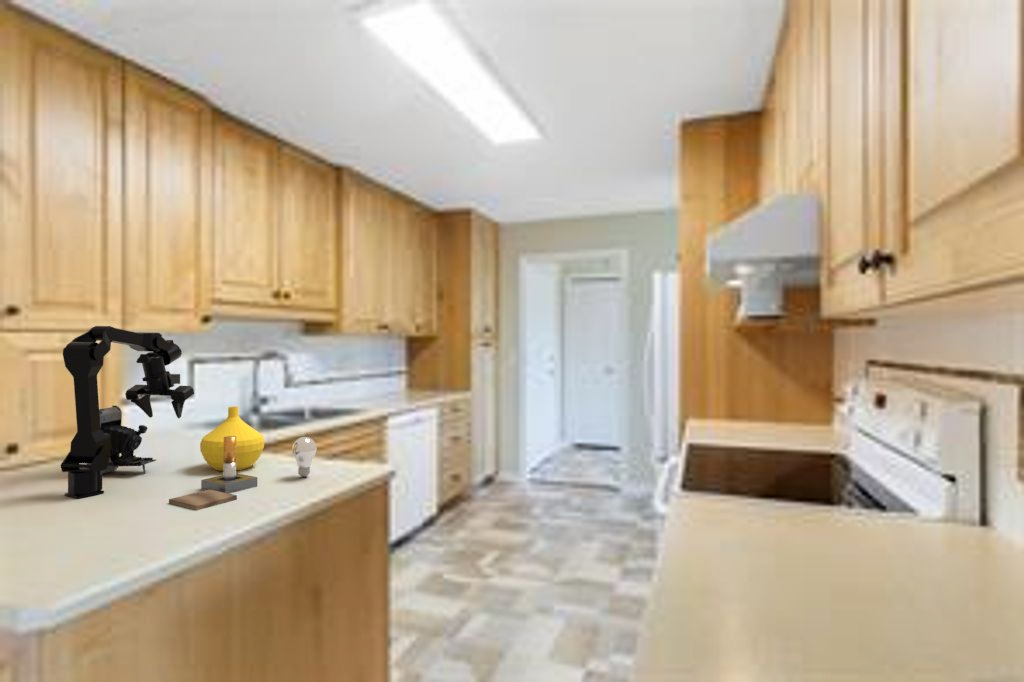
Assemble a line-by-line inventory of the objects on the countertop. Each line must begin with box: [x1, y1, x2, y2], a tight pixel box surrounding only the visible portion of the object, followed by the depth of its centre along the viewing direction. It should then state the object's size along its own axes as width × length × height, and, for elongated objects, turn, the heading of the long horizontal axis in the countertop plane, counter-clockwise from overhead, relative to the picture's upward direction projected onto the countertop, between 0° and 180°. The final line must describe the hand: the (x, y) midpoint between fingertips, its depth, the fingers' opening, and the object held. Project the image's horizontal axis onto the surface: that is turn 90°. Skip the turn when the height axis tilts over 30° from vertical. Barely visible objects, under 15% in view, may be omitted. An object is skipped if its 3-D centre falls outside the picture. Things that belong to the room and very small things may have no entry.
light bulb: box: [291, 436, 318, 478], centre depth 179 cm, size 7×7×12 cm
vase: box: [199, 406, 265, 472], centre depth 189 cm, size 18×18×19 cm
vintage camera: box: [99, 405, 157, 475], centre depth 179 cm, size 10×15×20 cm, turn 89°
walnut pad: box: [168, 490, 238, 511], centre depth 152 cm, size 11×11×1 cm
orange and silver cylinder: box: [222, 436, 237, 481], centre depth 166 cm, size 3×3×14 cm
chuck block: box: [200, 472, 258, 494], centre depth 166 cm, size 10×10×2 cm
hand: (165, 417), depth 189 cm, fingers open, 9 cm apart
